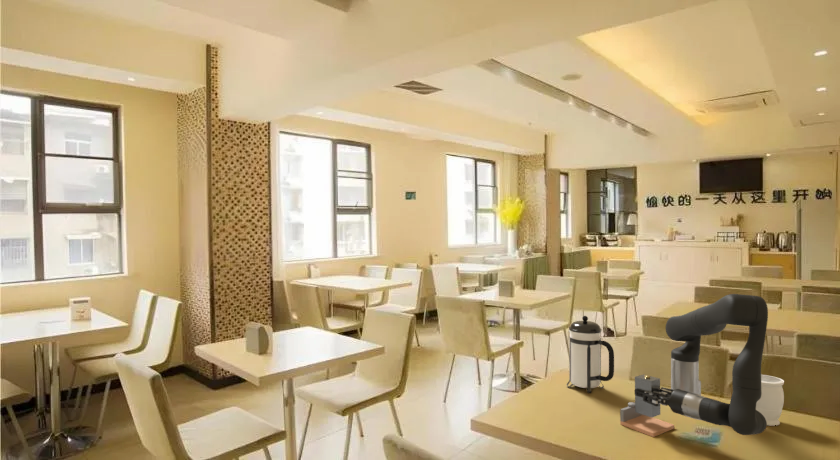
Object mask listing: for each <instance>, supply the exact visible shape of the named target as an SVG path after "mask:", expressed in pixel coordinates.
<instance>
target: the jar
mask: <svg viewBox="0 0 840 460" xmlns="http://www.w3.org/2000/svg"><path fill="white" fill-rule="evenodd" d="M784 384H785V380H784V379H782V378H780V377H776V376H772V375H767V374H761V390H762V393H761V398H760V399H759V400H758V401H757V403H756V410H757V411H759V412H760V413H761V414H762V415H763V416H764V417H765V419H766V422H767V426H771V427H775V425H776V426H779V425H780V424H781V422H780V420H779V418H780V417H781V415H782V413H783V408H784V401H785V393H784V389H783V385H784Z"/></svg>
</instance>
